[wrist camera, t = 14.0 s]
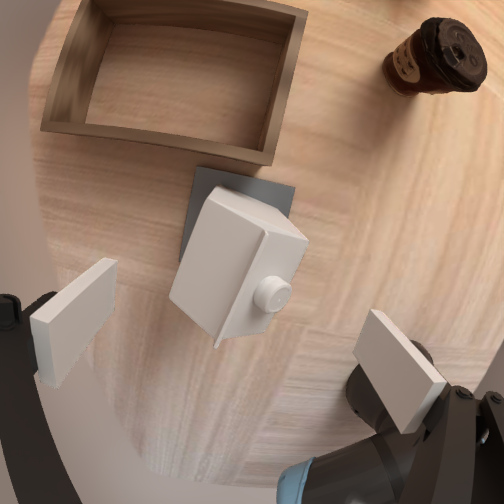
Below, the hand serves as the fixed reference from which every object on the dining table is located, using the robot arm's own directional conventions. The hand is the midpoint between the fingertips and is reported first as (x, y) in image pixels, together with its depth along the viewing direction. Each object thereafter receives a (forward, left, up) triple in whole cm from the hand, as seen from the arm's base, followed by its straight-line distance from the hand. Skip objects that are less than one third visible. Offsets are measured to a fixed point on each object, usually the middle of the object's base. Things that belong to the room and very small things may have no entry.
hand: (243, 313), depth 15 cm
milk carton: (0, 0, -20) cm, 20 cm away
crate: (+15, +10, -21) cm, 28 cm away
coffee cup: (+24, -16, -21) cm, 36 cm away
